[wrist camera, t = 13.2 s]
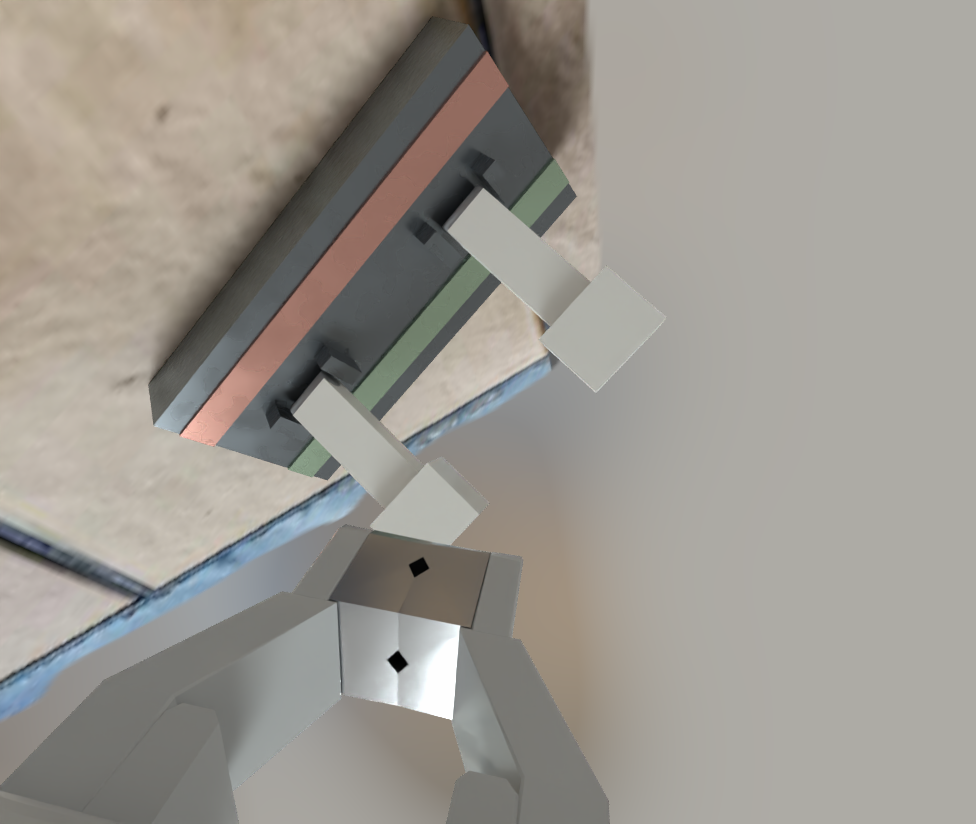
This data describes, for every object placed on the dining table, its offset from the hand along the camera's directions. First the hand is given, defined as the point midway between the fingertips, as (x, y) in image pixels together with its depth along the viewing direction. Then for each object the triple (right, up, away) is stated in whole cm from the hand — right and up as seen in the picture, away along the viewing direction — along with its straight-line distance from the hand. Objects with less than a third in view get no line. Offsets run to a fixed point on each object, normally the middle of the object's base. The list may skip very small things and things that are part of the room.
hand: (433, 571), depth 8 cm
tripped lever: (-10, +4, +22) cm, 25 cm away
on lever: (0, +14, +20) cm, 24 cm away
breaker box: (-7, +12, +25) cm, 28 cm away
